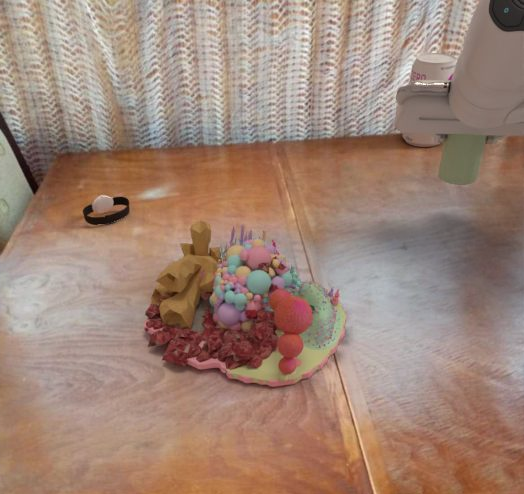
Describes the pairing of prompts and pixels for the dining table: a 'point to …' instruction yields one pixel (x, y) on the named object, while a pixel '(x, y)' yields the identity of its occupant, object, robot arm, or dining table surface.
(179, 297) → the pastel sphere sculpture
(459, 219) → the dining table surface
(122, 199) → the watch
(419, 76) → the supplement can
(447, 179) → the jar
